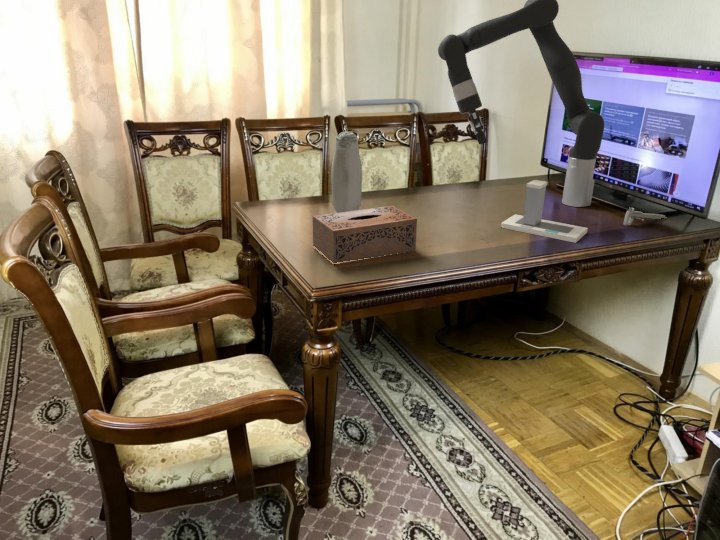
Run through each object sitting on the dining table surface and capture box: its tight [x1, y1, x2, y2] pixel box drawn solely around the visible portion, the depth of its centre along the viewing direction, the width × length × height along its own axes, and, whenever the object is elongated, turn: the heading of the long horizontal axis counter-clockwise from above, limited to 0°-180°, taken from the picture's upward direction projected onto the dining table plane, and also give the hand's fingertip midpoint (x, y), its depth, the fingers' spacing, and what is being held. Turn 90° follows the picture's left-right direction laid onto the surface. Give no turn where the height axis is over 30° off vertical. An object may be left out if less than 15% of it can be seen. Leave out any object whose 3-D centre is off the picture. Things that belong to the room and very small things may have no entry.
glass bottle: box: [330, 130, 363, 213], centre depth 194 cm, size 10×10×28 cm
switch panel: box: [500, 213, 589, 244], centre depth 187 cm, size 24×12×2 cm, turn 55°
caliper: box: [623, 207, 668, 227], centre depth 196 cm, size 20×1×6 cm, turn 117°
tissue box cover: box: [312, 205, 418, 263], centre depth 167 cm, size 26×14×10 cm, turn 116°
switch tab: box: [522, 179, 548, 226], centre depth 186 cm, size 4×6×13 cm
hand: (482, 143), depth 196 cm, fingers open, 8 cm apart
